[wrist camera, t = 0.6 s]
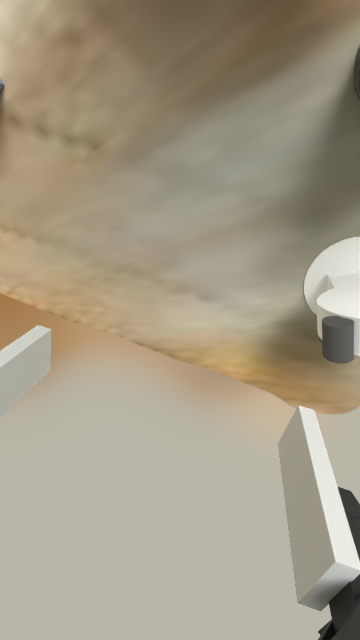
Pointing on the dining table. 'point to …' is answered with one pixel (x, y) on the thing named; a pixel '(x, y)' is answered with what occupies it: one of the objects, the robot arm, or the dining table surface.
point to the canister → (357, 75)
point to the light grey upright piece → (336, 299)
